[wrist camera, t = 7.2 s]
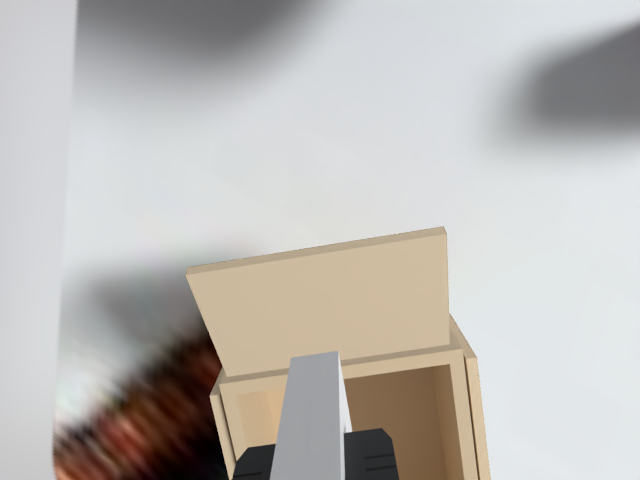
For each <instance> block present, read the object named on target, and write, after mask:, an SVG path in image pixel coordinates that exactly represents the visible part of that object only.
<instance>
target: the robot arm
mask: <svg viewBox="0 0 640 480" xmlns="http://www.w3.org/2000/svg"><path fill="white" fill-rule="evenodd" d="M231 480H399V475H398V469H397V464H396V458H395V453H394V447H393V442H392V438H391V437H390V436H389V435H388V434H387V433H386V432H385V431H384V430H383V429H382V428H377V429H370V430H362V431H355V432H352V426H351V421H350V415H349V409H348V403H347V398H346V392H345V386H344V380H343V375H342V369H341V363H340V358H339V352H338V351H334V352H327V353H320V354H313V355H306V356H299V357H292V358H291V361H290V366H289V372H288V378H287V384H286V389H285V395H284V401H283V406H282V412H281V418H280V424H279V429H278V435H277V441H276V444H270V445H262V446H255V447H248V448H247V449H246V450H245V452H244V453H243V454H242V455H241V456H240V458H239V459H238V460H237V462H236V465H235V469H234V472H233V479H231Z"/></svg>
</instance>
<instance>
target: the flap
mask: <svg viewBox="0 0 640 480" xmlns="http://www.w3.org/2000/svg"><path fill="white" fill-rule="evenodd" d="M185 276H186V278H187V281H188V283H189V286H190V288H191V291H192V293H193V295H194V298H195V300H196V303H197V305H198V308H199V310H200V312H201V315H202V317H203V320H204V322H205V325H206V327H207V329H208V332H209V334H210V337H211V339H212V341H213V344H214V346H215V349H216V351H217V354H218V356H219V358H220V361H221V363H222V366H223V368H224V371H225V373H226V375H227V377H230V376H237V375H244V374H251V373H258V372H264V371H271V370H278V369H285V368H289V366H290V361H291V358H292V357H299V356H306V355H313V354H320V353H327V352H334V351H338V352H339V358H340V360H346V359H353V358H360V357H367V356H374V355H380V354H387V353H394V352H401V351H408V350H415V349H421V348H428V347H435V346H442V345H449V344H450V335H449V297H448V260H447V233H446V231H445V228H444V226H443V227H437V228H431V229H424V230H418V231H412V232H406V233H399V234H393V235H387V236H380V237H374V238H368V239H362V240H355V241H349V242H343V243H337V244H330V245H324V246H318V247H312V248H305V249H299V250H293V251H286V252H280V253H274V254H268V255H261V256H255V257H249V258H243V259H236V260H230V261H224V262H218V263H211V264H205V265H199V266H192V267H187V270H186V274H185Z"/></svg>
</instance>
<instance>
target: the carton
mask: <svg viewBox="0 0 640 480" xmlns="http://www.w3.org/2000/svg"><path fill="white" fill-rule="evenodd" d="M449 335H450V344H449V345H442V346H435V347H428V348H421V349H415V350H408V351H401V352H394V353H387V354H380V355H374V356H367V357H360V358H353V359H346V360H340V363H341V369H342V375H343V380H344V386H345V392H346V398H347V403H348V409H349V415H350V421H351V426H352V432H355V431H362V430H370V429H377V428H382V429H383V430H384V431H385V432H386V433H387V434H388V435H389V436H390V437H391V438H392V442H393V447H394V453H395V458H396V464H397V469H398V475H399V480H491V478H490V469H489V460H488V452H487V443H486V434H485V425H484V416H483V407H482V398H481V390H480V381H479V372H478V363H477V357H476V355H475V354H474V352H473V350H472V349H471V347H470V345H469V344H468V342H467V340H466V339H465V337H464V336H463V334H462V332H461V331H460V329H459V327H458V326H457V324H456V322H455V321H454V319H453V317H452V316H451V314H449ZM288 372H289V368H285V369H278V370H271V371H264V372H258V373H251V374H244V375H237V376H230V377H227V375H226V373H225V371H224V368H223V367H222V369H221V371H220V374H219V376H218V378H217V380H216V383H215V385H214V387H213V389H212V392H211V394H210V400H211V404H212V409H213V413H214V417H215V421H216V426H217V430H218V434H219V438H220V443H221V447H222V451H223V455H224V460H225V464H226V468H227V472H228V477H229V480H231V479H233V472H234V469H235V465H236V462H237V460H238V459H239V458H240V456H241V455H242V454H243V453H244V452H245V450H246V449H247V448H248V447H255V446H262V445H270V444H276V441H277V435H278V429H279V424H280V418H281V412H282V406H283V401H284V395H285V389H286V384H287V378H288Z"/></svg>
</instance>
